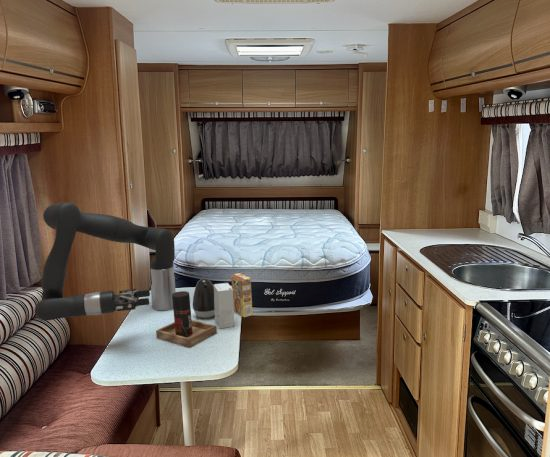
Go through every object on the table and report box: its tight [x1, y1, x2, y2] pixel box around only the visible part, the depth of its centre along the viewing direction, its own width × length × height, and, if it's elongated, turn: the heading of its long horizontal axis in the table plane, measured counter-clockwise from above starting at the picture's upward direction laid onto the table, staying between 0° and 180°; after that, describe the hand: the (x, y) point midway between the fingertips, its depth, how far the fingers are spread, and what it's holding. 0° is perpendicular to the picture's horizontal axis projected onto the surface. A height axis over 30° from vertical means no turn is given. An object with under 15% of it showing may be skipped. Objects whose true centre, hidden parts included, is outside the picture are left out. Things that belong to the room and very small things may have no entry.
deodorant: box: [172, 290, 193, 337], centre depth 179 cm, size 6×6×15 cm
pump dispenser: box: [192, 277, 215, 319], centre depth 198 cm, size 10×10×15 cm
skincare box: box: [213, 282, 235, 329], centre depth 189 cm, size 8×6×15 cm
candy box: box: [230, 272, 253, 318], centre depth 199 cm, size 9×4×15 cm, turn 33°
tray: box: [155, 319, 218, 349], centre depth 181 cm, size 16×14×3 cm
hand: (149, 296), depth 175 cm, fingers open, 8 cm apart
